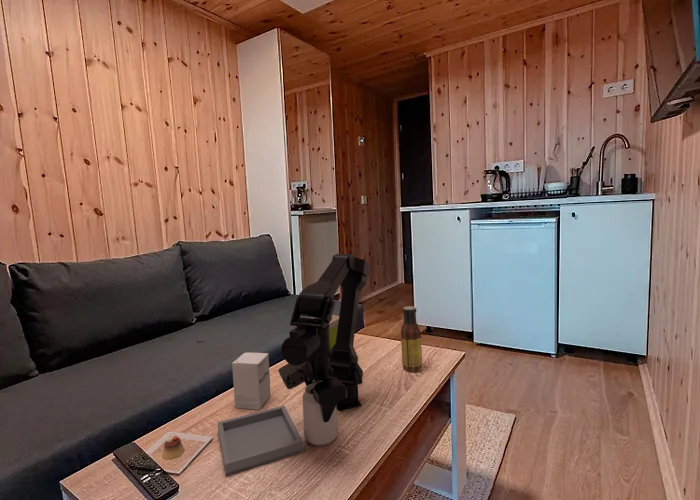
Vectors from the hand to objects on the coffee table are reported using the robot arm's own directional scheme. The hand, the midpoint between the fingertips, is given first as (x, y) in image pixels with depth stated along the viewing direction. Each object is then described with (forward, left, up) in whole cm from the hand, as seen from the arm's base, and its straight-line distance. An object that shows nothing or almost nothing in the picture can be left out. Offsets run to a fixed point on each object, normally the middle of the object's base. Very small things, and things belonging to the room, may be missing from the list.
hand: (319, 412), depth 84 cm
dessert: (+31, -10, -7) cm, 33 cm away
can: (0, 0, -6) cm, 6 cm away
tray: (+13, -5, -6) cm, 15 cm away
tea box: (-14, -38, -6) cm, 41 cm away
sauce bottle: (-38, -20, -6) cm, 43 cm away
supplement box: (+11, -23, -6) cm, 26 cm away
